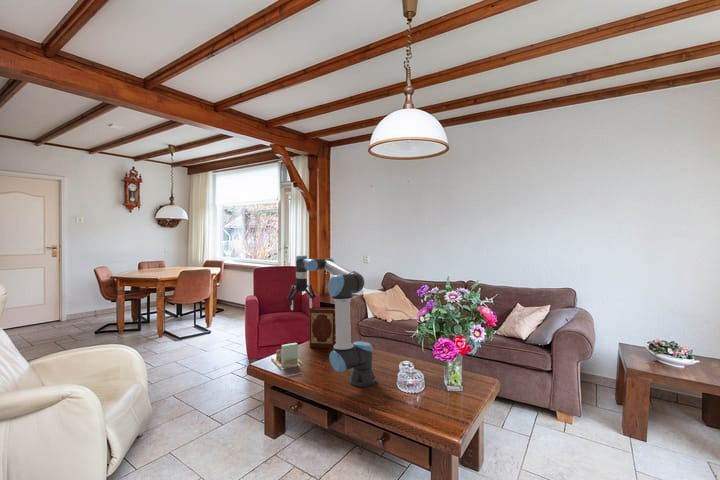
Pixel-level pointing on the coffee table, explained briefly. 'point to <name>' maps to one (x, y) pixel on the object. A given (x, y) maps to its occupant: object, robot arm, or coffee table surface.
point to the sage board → (289, 353)
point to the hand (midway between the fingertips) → (301, 308)
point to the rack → (287, 363)
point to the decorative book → (322, 327)
